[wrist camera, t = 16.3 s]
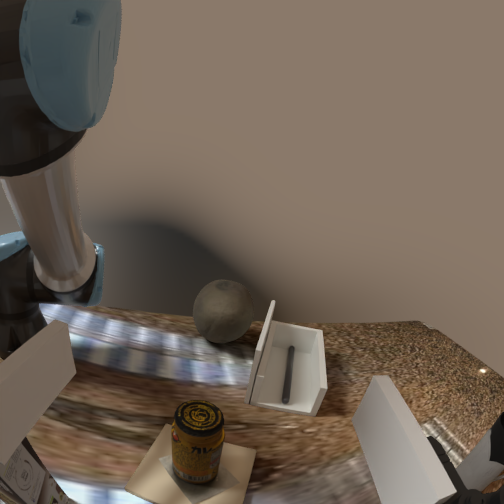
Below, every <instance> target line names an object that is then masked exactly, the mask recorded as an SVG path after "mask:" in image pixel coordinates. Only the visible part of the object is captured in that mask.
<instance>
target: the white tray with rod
mask: <svg viewBox="0 0 504 504" xmlns="http://www.w3.org/2000/svg"><path fill="white" fill-rule="evenodd" d="M274 305H275V301H274V300H272V302H271V305H270V308H269V311H268V314H267V317H266V320H265V323H264V326H263V329H262V332H261V335H260V338H259V341H258V344H257V347H256V351H255V355H254V360H253V365H252V370H251V374H250V379H249V383H248V388H247V392H246V397H245V401H244V403H246V404H249V401H250V398H251V401H250V405H255V406H259V407H264V408H268V409H273V410H278V411H284V412H289V413H295V414H301V415H308V416H316V414H317V412H318V410H319V407H320V405H321V403H322V400H323V398H324V396H325V393H326V391H327V377H326V365H325V353H324V343H323V333H322V330H318V329H312V328H307V327H302V326H297V325H292V324H287V323H282V322H277V321H273V320H272V323H271V319H272V315H273V310H274ZM270 324H271V326H270ZM269 329H270V330H269ZM268 333H269V334H268ZM252 391H253V392H252ZM251 394H252V397H251Z"/></svg>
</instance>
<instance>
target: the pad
mask: <svg viewBox="0 0 504 504" xmlns="http://www.w3.org/2000/svg"><path fill="white" fill-rule="evenodd" d="M171 428H172V425H169V424H167V423H166V425H165V426H164V428H163V429H162V431H161V433H160V434H159V436H158V437H157V439H156V440H155V442H154V443H153V445H152V447H151V448H150V450H149V451H148V453H147V454H146V456H145V457H144V459H143V460H142V462H141V464H140V465H139V467H138V468H137V470H136V471H135V473H134V474H133V476H132V477H131V479H130V480H129V482H128V483H127V485H126V486H125V490H126V491H127V492H129V493H131V494H133V495H135V496H137V497H140V498H142V499H144V500H146V501H149V502H151V503H153V504H192V503H191V502H190V501H189V499H188V498H187V497H186V496H185V495H184V494H183V492H182V491H181V490H180V488H179V487H178V485H177V484H176V483H175V482H174V480H173V479H172V478H171V476H170V475H169V474H168V472H167V470H166V469H165V468H164V466H163V465H162V463H161V462H160V460H159V458H162V457H165V456H168V455H172V442H171ZM256 451H257V450H255V449H250V448H246V447H241V446H237V445H233V444H229V443H225V442H224V444H223V449H222V454H221V458H220V463H221V464H222V465H223V466H224V467H225V468H226V469H227V470H228V471H229V472H230V473H231V474H232V475H233V476H234V477H235V478H236V479H237V480H238V481H239V482H240V483H239V484H237V485H235V486H233V487H231V488H229V489H227V490H225V491H223V492H221V493H219V494H217V495H214V496H212V497H210V498H207V499H205V500H203V501H200V502H197V503H195V504H243V501H244V497H245V494H246V490H247V486H248V482H249V479H250V475H251V471H252V467H253V463H254V459H255V455H256ZM217 478H218V477H217Z"/></svg>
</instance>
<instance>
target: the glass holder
mask: <svg viewBox="0 0 504 504" xmlns="http://www.w3.org/2000/svg"><path fill="white" fill-rule="evenodd" d="M503 470H504V412H502V414H501V415H500V416H499V418H498V419H497V421H496V422H495V423H494V425H493V426H492V428H490V429H489V430H488V431H487V433H486V434H485V435H484V437H483V438H482V439H481V440H480V442H479V443H478V444H477V445H476V446H475V448H474V449H473V450H472V451H471V452H470V454H469V455H468V456H467V457H466V458H465V459H464V460H463V461H462V463H461V464H460V465H459V466H458V467H457V468H456V471H457V472H458V474H459V476H460V478H461V480H462V481H463V483H464V485H465V486H466V488H467V489H468V490H469V489H476V490H479V491H483V490H484V489H485V488H486V487H487V486H488V485H489V484H490V483H491V482H493V481H496V480H499V479H502V478H504V475H501V476H498V475H499V474H500V473H501V472H502V471H503ZM497 476H498V477H497Z"/></svg>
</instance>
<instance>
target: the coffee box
mask: <svg viewBox="0 0 504 504" xmlns="http://www.w3.org/2000/svg"><path fill="white" fill-rule="evenodd" d="M0 499H1V500H2V501H4V502H5V503H7V504H67V501H68V496H67V495H66V494H65V493H64V491H63V490H62V489H61V488H60V486H59V485H58V484H57V482H56V481H55V480H54V478H53V477H52V476H51V475H50V473H49V472H48V470H47V469H46V467H45V466H44V465H43V463H42V462H41V460H40V459H39V457H38V456H37V454H36V452H35V451H34V449H33V448H32V446H31V445H30V443H29V441H28V440H27V438H26V436H25V438H24V439H23V440H22V442H21V443H20V445H19V446H18V447H17V449H16V450H15V451H14V453H13V454H12V456H11V457H10V458H9V460H8V461H7V463H6V464H5V465H3V464H2V463H1V462H0Z"/></svg>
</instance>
